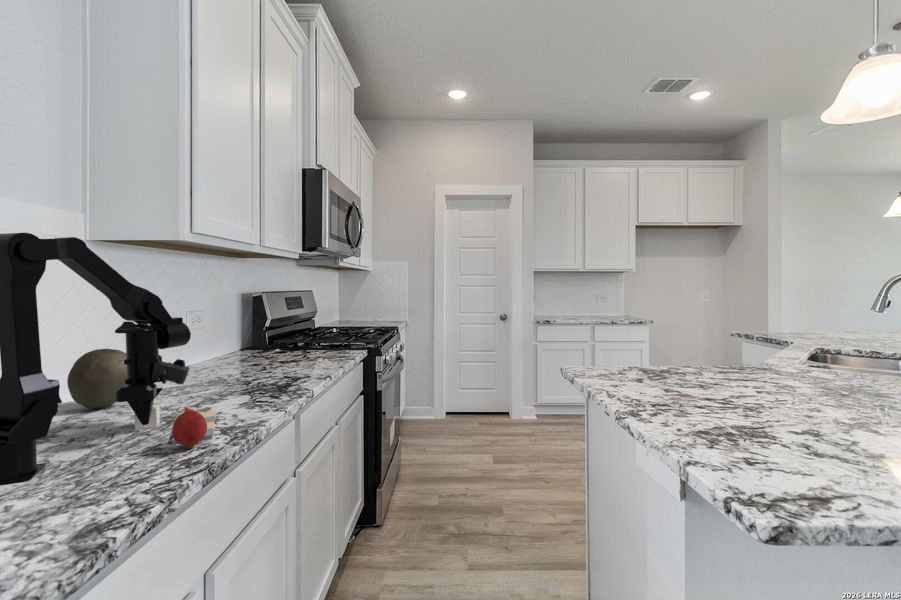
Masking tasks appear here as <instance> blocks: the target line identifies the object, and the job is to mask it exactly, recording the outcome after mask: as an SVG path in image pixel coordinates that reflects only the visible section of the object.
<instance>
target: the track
mask: <svg viewBox="0 0 901 600" xmlns="http://www.w3.org/2000/svg"><path fill="white" fill-rule="evenodd" d="M199 413H200V414H201V415H202V416H203V417H204V418H205V420H206V422H207V432H206V434H205V436H204V438H203V439H202V440H201V441H209V440H212V439H213V436H214V431H215V423H216V418H217V410H211V411H201V412H199ZM176 444H178V445H179V443H178V442H177V441H175V440H174V438H173V437H172V439H171V445H176Z"/></svg>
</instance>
